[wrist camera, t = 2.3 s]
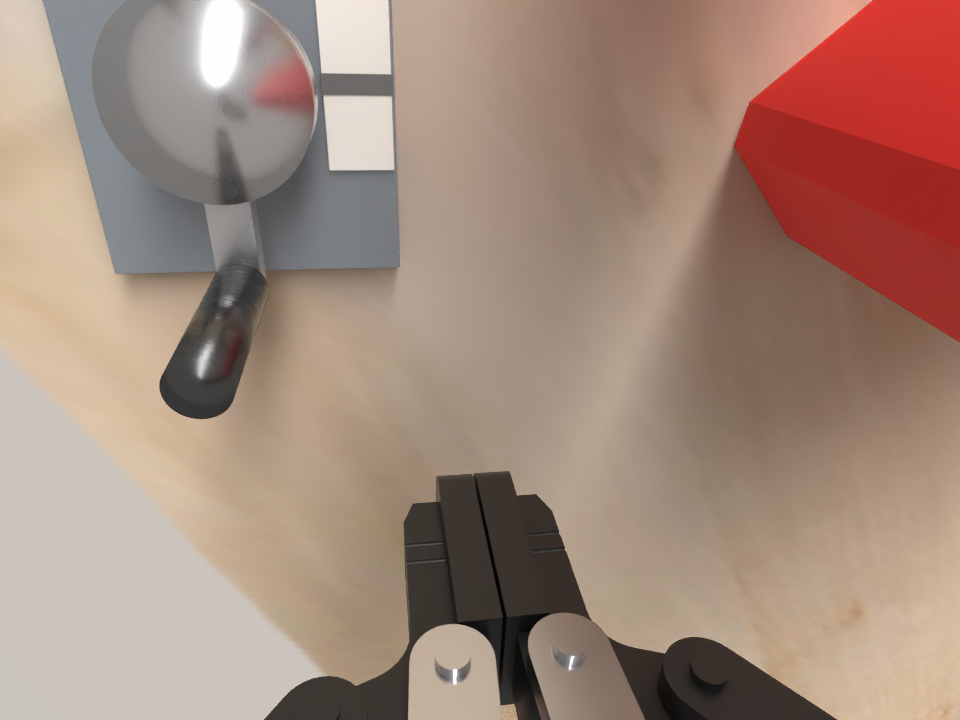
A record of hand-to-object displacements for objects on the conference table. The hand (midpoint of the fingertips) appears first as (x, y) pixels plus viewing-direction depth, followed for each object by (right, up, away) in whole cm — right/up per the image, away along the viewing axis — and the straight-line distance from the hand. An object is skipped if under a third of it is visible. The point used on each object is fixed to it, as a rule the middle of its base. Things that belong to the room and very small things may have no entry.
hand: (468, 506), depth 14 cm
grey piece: (-8, +11, +7) cm, 15 cm away
